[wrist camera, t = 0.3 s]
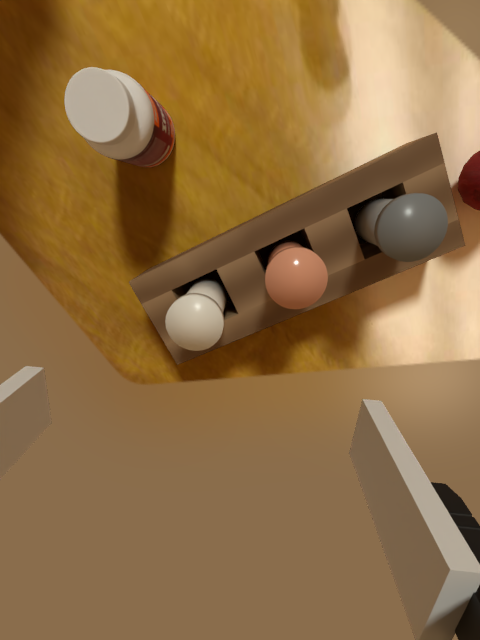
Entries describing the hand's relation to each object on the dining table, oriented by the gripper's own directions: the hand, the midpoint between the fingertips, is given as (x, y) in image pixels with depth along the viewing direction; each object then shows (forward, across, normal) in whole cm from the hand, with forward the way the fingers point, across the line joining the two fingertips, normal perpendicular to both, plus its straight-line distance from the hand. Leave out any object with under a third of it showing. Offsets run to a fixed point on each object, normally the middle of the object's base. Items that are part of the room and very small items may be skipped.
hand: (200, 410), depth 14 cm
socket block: (+26, +5, +3) cm, 27 cm away
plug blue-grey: (+22, +13, +7) cm, 26 cm away
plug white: (+22, -3, -2) cm, 22 cm away
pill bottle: (+26, -10, +13) cm, 31 cm away
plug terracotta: (+22, +5, +3) cm, 23 cm away
